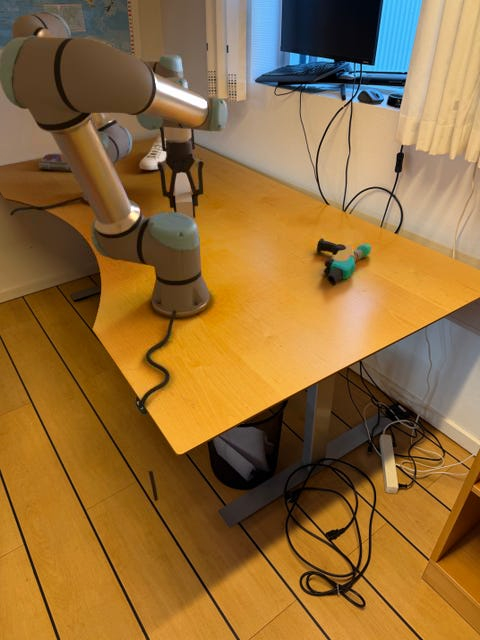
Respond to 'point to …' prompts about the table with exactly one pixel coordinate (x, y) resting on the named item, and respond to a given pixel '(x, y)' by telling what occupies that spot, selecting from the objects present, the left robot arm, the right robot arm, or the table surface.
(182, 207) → the beam
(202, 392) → the table surface
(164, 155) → the sneaker
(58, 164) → the toy gun
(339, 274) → the toy gun
